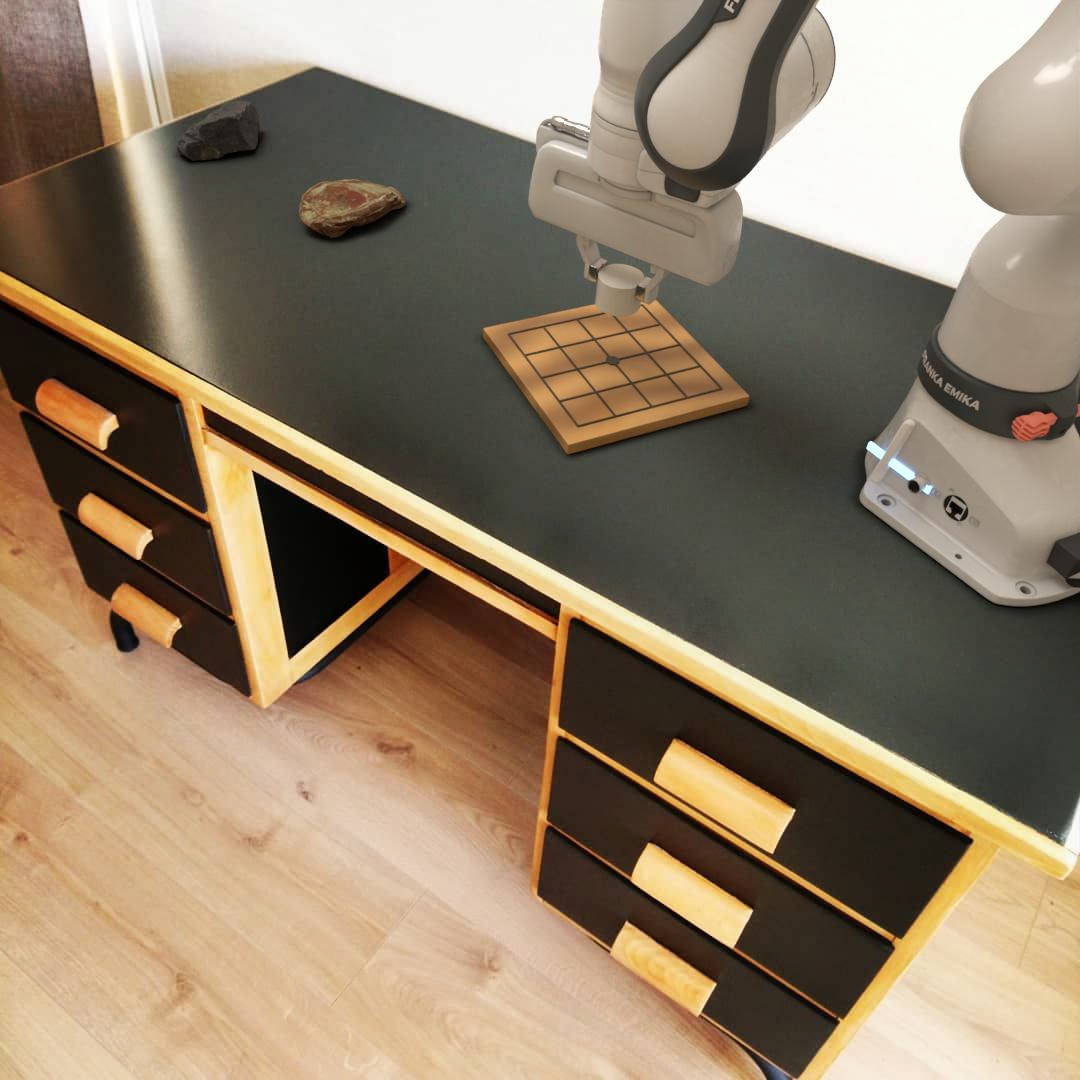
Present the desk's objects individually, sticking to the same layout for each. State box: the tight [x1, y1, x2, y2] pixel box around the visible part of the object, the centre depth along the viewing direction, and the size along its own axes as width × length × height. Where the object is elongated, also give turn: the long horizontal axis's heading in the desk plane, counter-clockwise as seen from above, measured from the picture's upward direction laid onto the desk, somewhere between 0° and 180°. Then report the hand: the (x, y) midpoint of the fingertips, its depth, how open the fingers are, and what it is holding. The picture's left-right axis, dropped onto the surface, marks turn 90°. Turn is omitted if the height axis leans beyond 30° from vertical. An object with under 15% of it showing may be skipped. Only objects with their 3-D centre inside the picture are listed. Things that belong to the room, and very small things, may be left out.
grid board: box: [482, 298, 750, 455], centre depth 95 cm, size 20×20×1 cm
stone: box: [298, 178, 407, 239], centre depth 114 cm, size 13×10×3 cm
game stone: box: [594, 263, 646, 316], centre depth 89 cm, size 4×4×3 cm
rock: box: [176, 100, 261, 162], centre depth 124 cm, size 10×6×10 cm
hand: (620, 289), depth 89 cm, fingers closed on game stone, 4 cm apart
